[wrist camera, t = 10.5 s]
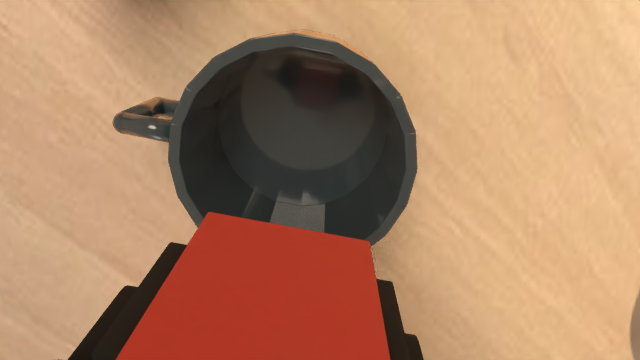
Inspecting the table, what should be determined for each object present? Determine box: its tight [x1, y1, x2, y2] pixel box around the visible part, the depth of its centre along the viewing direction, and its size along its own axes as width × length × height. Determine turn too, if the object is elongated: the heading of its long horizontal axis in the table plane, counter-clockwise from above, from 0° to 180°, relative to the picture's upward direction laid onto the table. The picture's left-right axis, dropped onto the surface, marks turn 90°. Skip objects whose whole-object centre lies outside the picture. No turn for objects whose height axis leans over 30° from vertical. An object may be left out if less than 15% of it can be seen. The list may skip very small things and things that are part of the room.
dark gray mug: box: [113, 30, 417, 247], centre depth 26 cm, size 16×13×8 cm
